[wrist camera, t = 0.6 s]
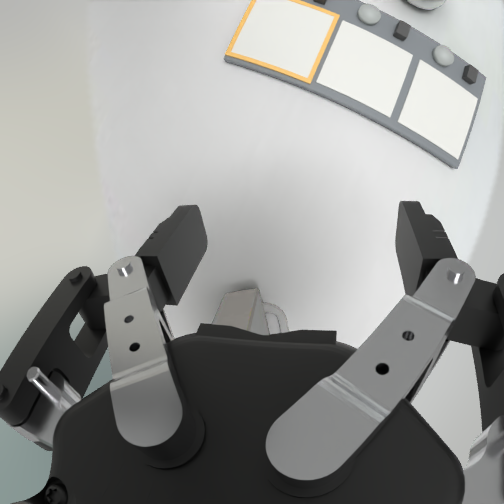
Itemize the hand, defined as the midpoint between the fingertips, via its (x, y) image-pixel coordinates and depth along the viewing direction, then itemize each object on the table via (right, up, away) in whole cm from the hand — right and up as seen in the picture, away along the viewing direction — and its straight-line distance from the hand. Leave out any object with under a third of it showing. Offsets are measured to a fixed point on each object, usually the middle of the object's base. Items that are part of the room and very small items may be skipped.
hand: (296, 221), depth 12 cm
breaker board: (+12, +21, +17) cm, 30 cm away
